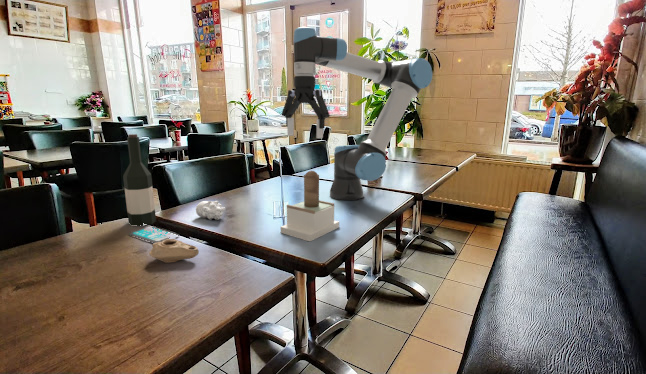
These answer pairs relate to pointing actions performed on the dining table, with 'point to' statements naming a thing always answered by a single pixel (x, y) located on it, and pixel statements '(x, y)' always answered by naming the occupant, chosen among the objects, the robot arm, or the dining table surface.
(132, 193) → the wine bottle
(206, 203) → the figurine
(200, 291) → the dining table surface
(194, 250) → the pottery oil lamp
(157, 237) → the smartphone
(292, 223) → the display stand
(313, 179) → the brown domed cylinder
